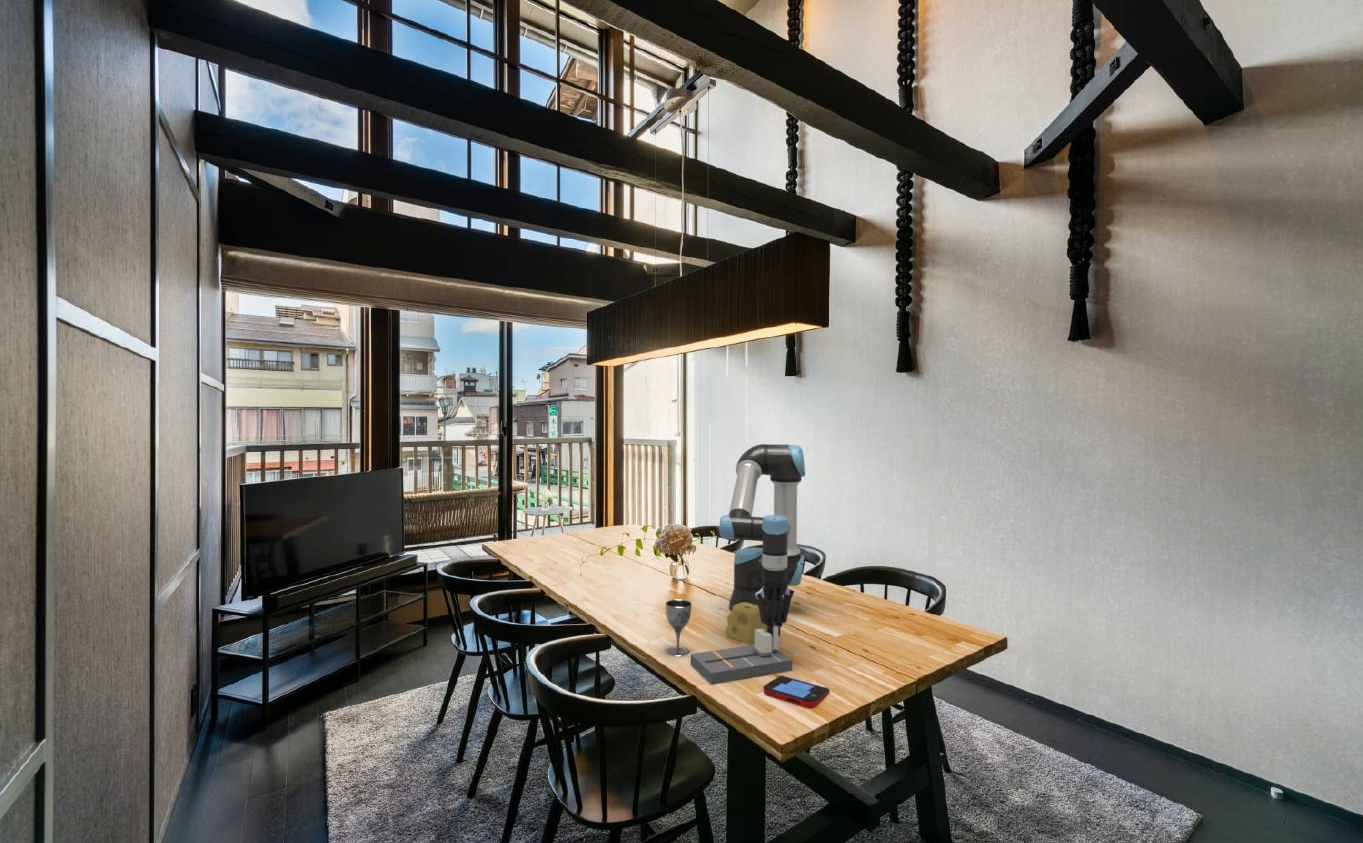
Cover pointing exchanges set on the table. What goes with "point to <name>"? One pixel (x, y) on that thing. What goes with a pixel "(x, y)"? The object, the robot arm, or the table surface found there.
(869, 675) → the table surface
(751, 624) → the cheese
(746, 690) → the table surface
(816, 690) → the red and black smartphone
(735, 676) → the board
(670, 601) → the wine glass
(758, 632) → the fader
